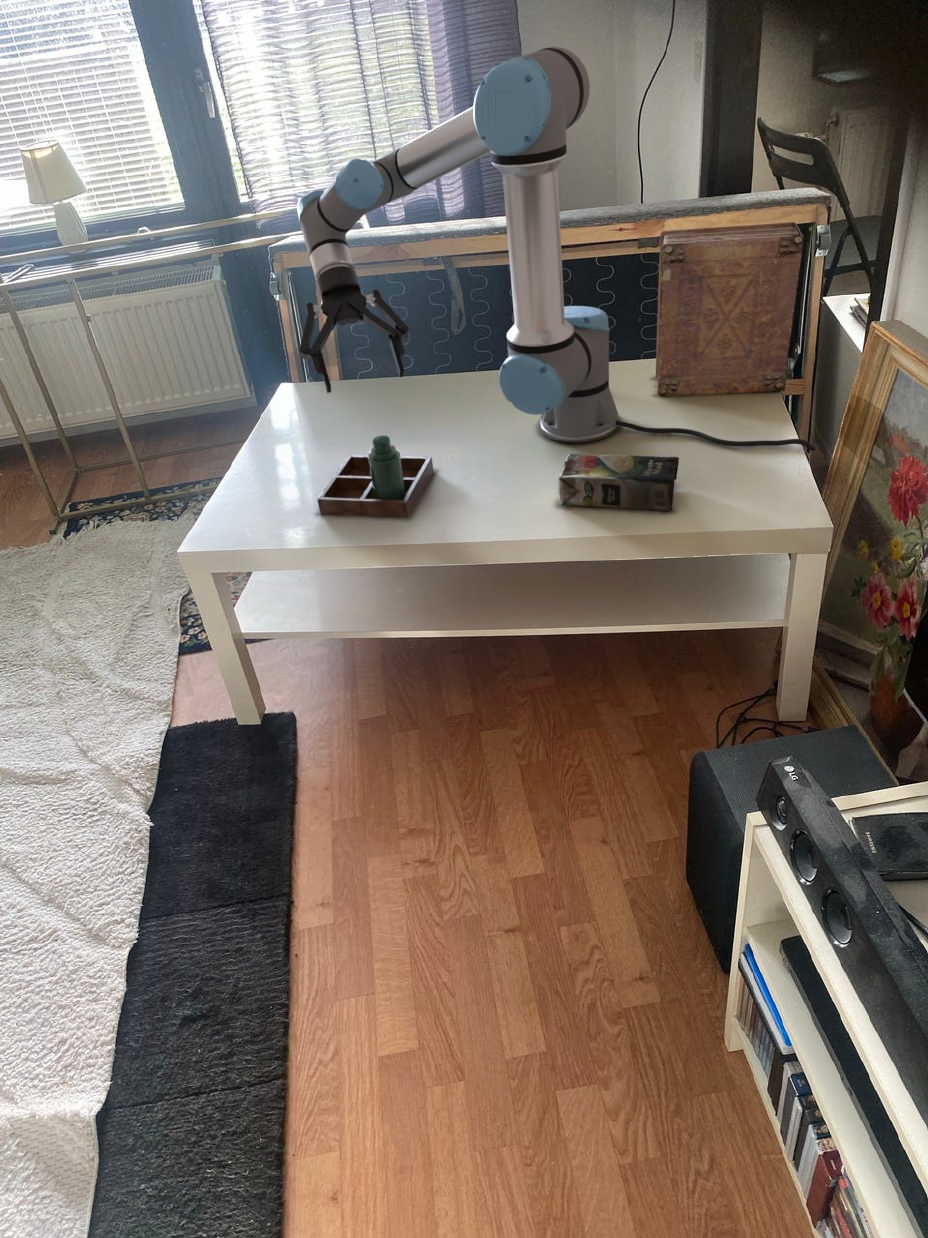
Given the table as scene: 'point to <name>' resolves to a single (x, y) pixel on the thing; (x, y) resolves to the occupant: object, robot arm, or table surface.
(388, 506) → the tray
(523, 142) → the robot arm
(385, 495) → the green bottle
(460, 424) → the table surface
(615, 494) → the juice carton
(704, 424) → the table surface
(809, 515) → the table surface
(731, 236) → the book
